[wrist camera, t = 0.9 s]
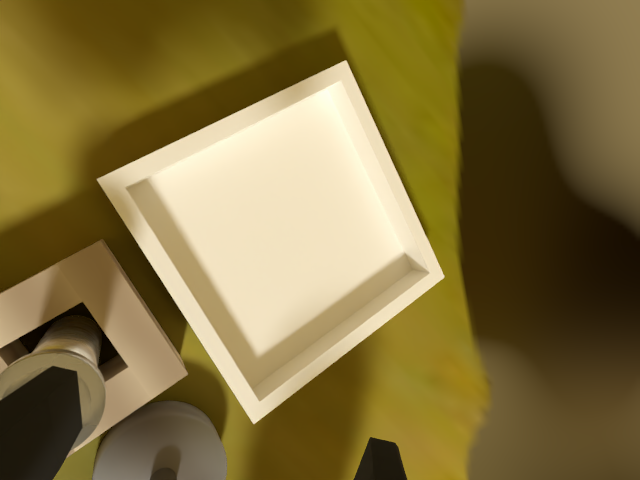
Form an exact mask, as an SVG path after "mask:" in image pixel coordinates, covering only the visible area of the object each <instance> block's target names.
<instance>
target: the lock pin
mask: <svg viewBox="0 0 640 480" xmlns="http://www.w3.org/2000/svg"><path fill="white" fill-rule="evenodd" d="M101 344H102V333H101V330H100V328H99V326H98V325H97V324H96V323H95V322H94V321H93V320H91V319H89V318H87V317H84V316H78V315H73V316H67V317H64V318H61V319H59V320H58V321H56V322H55V323H53V324H52V325H51V326H50V327H49V329H48V330H47V332H46V333H45V335H44V336H43V337H42V339H41V340H40V342H39V343H38V345H37V346H36V348H35V349H34V350H33V352H32V353H30V354H28V355H25V356H23V357H21V358H19V359H18V360H16V361H15V362H13V363H11V364H10V365H9V366H8V367H7V368H5V369H4V371H3V372H2V373H1V374H0V400H1V399H3V398H4V397H6V396H7V395H9V394H10V393H12V392H13V391H15V390H16V389H18V388H19V387H21V386H22V385H24V384H25V383H27V382H28V381H30V380H31V379H33V378H34V377H36V376H37V375H39V374H40V373H42V372H43V371H45V370H46V369H48V368H49V367H51V366H56V367H61V368H65V369H70V370H74V371H77V375H78V385H79V395H80V405H81V415H82V425H83V428H82V430H81V432H80V433H79V435H78V437H77V439H76V441H75V443H74V444H73V446H72V448H71V450H73V449H74V448H76V447H78V446H79V445H80V444H81V443H83V442H84V441H85V440H86V439H87V438H88V437H89V436H90V435H91V434H92V433H93V432H94V430H95V429H96V427H97V426H98V424H99V422H100V420H101V418H102V415H103V413H104V408H105V402H106V385H105V381H104V378H103V376H102V373H101V372H100V370H99V369H98V362H99V356H100V350H101ZM71 450H70V451H71Z"/></svg>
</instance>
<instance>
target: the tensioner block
mask: <svg viewBox="0 0 640 480" xmlns="http://www.w3.org/2000/svg"><path fill="white" fill-rule="evenodd" d="M82 301H83V303H84V304H85V306H86V307H87V309H88V310H89V311H90V313H91V314H92V316H93V317H94V319H95V320H96V321H97V323H98V324H99V326H100V327H101V328H102V330H103V331H104V333H105V334H106V336H107V337H108V338H109V340H110V341H111V343H112V344H113V346H114V347H115V348H116V350H117V351H118V353H119V354H118V355H117V356H115V357H114V358H112V359H110V360H109V361H107V362H106V363H104V364H102V365H101V366H99V367H98V369H99V370H100V372H101V373H102V376H103V378H104V381H105V385H106V402H105V408H104V413H103V415H102V418H101V420H100V422H99V424H98V426H97V427H96V429H95V430H94V432H93V433H92V434H91V435H90V436H89V437H88V438H87V439H86V440H85V441H84V442H83V443H81V444H80V445H79V446H78V447H76V448H74V449H73V450H71V451H70V452H69V454H68V455H67V457H68V456H70V455H71V454H73V453H74V452H76V451H77V450H78V449H80V448H81V447H83V446H84V445H86V444H87V443H89V442H90V441H92V440H93V439H94V438H96V437H97V436H99V435H100V434H102V433H103V432H105V431H106V430H108V429H109V428H111V427H112V426H113V425H114V426H113V427H112V428H111V429H110V431H109V432H108V433H107V434H106V436H105V437H104V439H103V440H102V442H101V444H100V446H99V448H98V451H97V454H96V457H95V462H94V469H93V477H92V480H225V479H226V474H227V458H226V454H225V450H224V447H223V445H222V442H221V440H220V438H219V436H218V433H217V431H216V429H215V427H214V425H213V423H212V421H211V420H210V419H209V418H208V416H207V415H206V414H205V413H204V412H203V411H201V410H200V409H198V408H197V407H195V406H193V405H191V404H188V403H184V402H180V401H158V402H154V403H150V404H147V405H144V404H146V403H147V402H149V401H150V400H151V399H153V398H154V397H156V396H157V395H159V394H160V393H162V392H163V391H165V390H166V389H167V388H169V387H170V386H172V385H173V384H175V383H176V382H178V381H179V380H181V379H182V378H184V377H185V376H186V375H188V373H187V370H186V368H185V366H184V363H183V361H182V359H181V356H180V355H179V353H178V352H177V350H176V349H175V347H174V346H173V344H172V343H171V341H170V340H169V338H168V336H167V335H166V333H165V332H164V330H163V329H162V327H161V326H160V324H159V323H158V321H157V320H156V318H155V317H154V315H153V314H152V312H151V311H150V309H149V308H148V306H147V305H146V303H145V302H144V300H143V299H142V297H141V296H140V294H139V293H138V291H137V290H136V288H135V287H134V285H133V284H132V282H131V281H130V279H129V278H128V276H127V275H126V273H125V272H124V270H123V268H122V267H121V265H120V264H119V262H118V261H117V259H116V258H115V256H114V255H113V253H112V252H111V250H110V249H109V247H108V246H107V244H106V243H105V241H104V240H103V239H101V240H99V241H97V242H96V243H94V244H92V245H90V246H88V247H86V248H84V249H82V250H80V251H78V252H77V253H75V254H73V255H71V256H69V257H67V258H65V259H63V260H61V261H60V262H58V263H56V264H54V265H52V266H50V267H48V268H46V269H44V270H43V271H41V272H39V273H37V274H35V275H33V276H31V277H29V278H27V279H25V280H24V281H22V282H20V283H18V284H16V285H14V286H12V287H10V288H8V289H7V290H5V291H3V292H1V293H0V374H1V373H2V372H3V371H4V369H5V368H7V367H8V366H9V365H10V364H11V363H13V362H15V361H16V360H18V359H19V358H21V357H23V356H25V355H28V354H30V353H29V352H28V351H27V349H26V348H25V347H24V345H23V344H22V343H21V341H20V340H19V339H18V338H19V337H21V336H23V335H25V334H26V333H28V332H30V331H32V330H33V329H35V328H37V327H39V326H40V325H42V324H44V323H46V322H47V321H49V320H51V319H53V318H54V317H56V316H58V315H60V314H61V313H63V312H65V311H67V310H68V309H70V308H72V307H74V306H75V305H77V304H79V303H81V302H82ZM143 405H144V406H143ZM67 457H66V458H67Z"/></svg>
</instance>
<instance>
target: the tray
mask: <svg viewBox="0 0 640 480" xmlns="http://www.w3.org/2000/svg"><path fill="white" fill-rule="evenodd" d="M97 181H98V182H99V184H100V186H101V187H102V189H103V190H104V192H105V193H106V195H107V197H108V198H109V200H110V201H111V203H112V204H113V206H114V207H115V209H116V211H117V212H118V214H119V215H120V217H121V218H122V220H123V221H124V223H125V225H126V226H127V228H128V229H129V231H130V232H131V234H132V235H133V237H134V239H135V240H136V242H137V243H138V245H139V246H140V248H141V250H142V251H143V253H144V254H145V256H146V257H147V259H148V260H149V262H150V264H151V265H152V267H153V268H154V270H155V271H156V273H157V274H158V276H159V278H160V279H161V281H162V282H163V284H164V285H165V287H166V288H167V290H168V292H169V293H170V295H171V296H172V298H173V299H174V301H175V303H176V304H177V306H178V307H179V309H180V310H181V312H182V313H183V315H184V317H185V318H186V320H187V321H188V323H189V324H190V326H191V327H192V329H193V331H194V332H195V334H196V335H197V337H198V338H199V340H200V342H201V343H202V345H203V346H204V348H205V349H206V351H207V352H208V354H209V356H210V357H211V359H212V360H213V362H214V363H215V365H216V366H217V368H218V370H219V371H220V373H221V374H222V376H223V377H224V379H225V380H226V382H227V384H228V385H229V387H230V388H231V390H232V391H233V393H234V395H235V396H236V398H237V399H238V401H239V402H240V404H241V405H242V407H243V409H244V410H245V412H246V413H247V415H248V416H249V418H250V419H251V421H252V422H253V424H255V423H256V422H258V421H259V420H260V419H261V418H263V417H264V416H265V415H267V414H268V413H269V412H271V411H272V410H273V409H274V408H276V407H277V406H278V405H280V404H281V403H282V402H284V401H285V400H286V399H287V398H289V397H290V396H291V395H293V394H294V393H295V392H296V391H298V390H299V389H300V388H302V387H303V386H304V385H306V384H307V383H308V382H309V381H311V380H312V379H313V378H315V377H316V376H317V375H318V374H320V373H321V372H322V371H324V370H325V369H326V368H328V367H329V366H330V365H331V364H333V363H334V362H335V361H337V360H338V359H339V358H340V357H342V356H343V355H344V354H346V353H347V352H348V351H350V350H351V349H352V348H353V347H355V346H356V345H357V344H359V343H360V342H361V341H362V340H364V339H365V338H366V337H368V336H369V335H370V334H372V333H373V332H374V331H375V330H377V329H378V328H379V327H381V326H382V325H383V324H385V323H386V322H387V321H388V320H390V319H391V318H392V317H394V316H395V315H396V314H397V313H399V312H400V311H401V310H403V309H404V308H405V307H407V306H408V305H409V304H410V303H412V302H413V301H414V300H416V299H417V298H418V297H419V296H421V295H422V294H423V293H425V292H426V291H427V290H429V289H430V288H431V287H432V286H434V285H435V284H436V283H438V282H439V281H440V280H441V279H443V278H444V275H443V272H442V270H441V268H440V266H439V264H438V261H437V259H436V257H435V255H434V253H433V250H432V248H431V246H430V244H429V242H428V239H427V237H426V235H425V233H424V231H423V228H422V226H421V224H420V222H419V219H418V217H417V215H416V213H415V211H414V208H413V206H412V204H411V202H410V200H409V197H408V195H407V193H406V191H405V189H404V186H403V184H402V182H401V180H400V178H399V175H398V173H397V171H396V169H395V167H394V164H393V162H392V160H391V158H390V156H389V153H388V151H387V149H386V147H385V145H384V142H383V140H382V138H381V136H380V134H379V131H378V129H377V127H376V125H375V122H374V120H373V118H372V116H371V114H370V111H369V109H368V107H367V105H366V103H365V100H364V98H363V96H362V94H361V92H360V89H359V87H358V85H357V83H356V81H355V78H354V76H353V74H352V72H351V70H350V67H349V65H348V63H347V61H346V60H345V61H343V62H341V63H339V64H337V65H335V66H332V67H330V68H328V69H326V70H324V71H322V72H320V73H318V74H316V75H314V76H312V77H309V78H307V79H305V80H303V81H301V82H299V83H297V84H295V85H293V86H291V87H289V88H286V89H284V90H282V91H280V92H278V93H276V94H274V95H272V96H270V97H268V98H266V99H263V100H261V101H259V102H257V103H255V104H253V105H251V106H249V107H247V108H245V109H243V110H240V111H238V112H236V113H234V114H232V115H230V116H228V117H226V118H224V119H222V120H219V121H217V122H215V123H213V124H211V125H209V126H207V127H205V128H203V129H201V130H199V131H196V132H194V133H192V134H190V135H188V136H186V137H184V138H182V139H180V140H178V141H176V142H173V143H171V144H169V145H167V146H165V147H163V148H161V149H159V150H157V151H155V152H153V153H150V154H148V155H146V156H144V157H142V158H140V159H138V160H136V161H134V162H132V163H130V164H127V165H125V166H123V167H121V168H119V169H117V170H115V171H113V172H111V173H109V174H106V175H104V176H102V177H100V178H98V179H97Z"/></svg>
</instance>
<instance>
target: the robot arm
mask: <svg viewBox="0 0 640 480" xmlns="http://www.w3.org/2000/svg"><path fill="white" fill-rule="evenodd" d="M82 428H83V425H82V415H81V405H80V395H79V385H78V375H77V371H74V370H70V369H65V368H61V367H56V366H51V367H49V368H48V369H46V370H45V371H43V372H42V373H40V374H39V375H37V376H36V377H34V378H33V379H31V380H30V381H28V382H27V383H25V384H24V385H22V386H21V387H19V388H18V389H16V390H15V391H13V392H12V393H10V394H9V395H7V396H6V397H4V398H3V399H1V400H0V480H53V478H54V477H55V475H56V474H57V472H58V471H59V469H60V467H61V466H62V464H63V462H64V461H65V459H66V457H67V455H68V454H69V452H70V450H71V448H72V446H73V444H74V443H75V441H76V439H77V437H78V435H79V433H80V432H81V430H82ZM354 480H407V477H406V474H405V471H404V467H403V464H402V460H401V457H400V453H399V449H398V446H397V445H396V443H394V442H389V441H385V440H380V439H376V438H372V437H370V439H369V441H368V444H367V447H366V449H365V452H364V454H363V457H362V460H361V462H360V465H359V467H358V470H357V473H356V475H355V478H354Z"/></svg>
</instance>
